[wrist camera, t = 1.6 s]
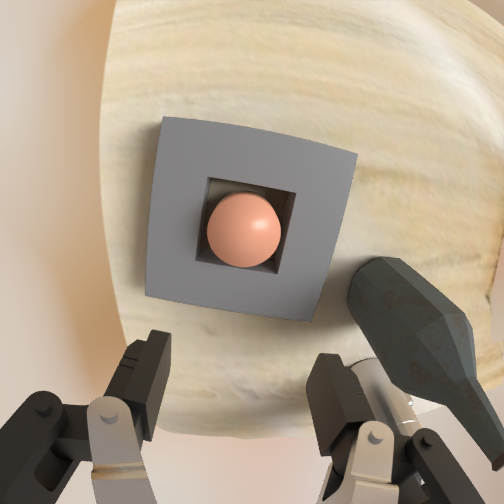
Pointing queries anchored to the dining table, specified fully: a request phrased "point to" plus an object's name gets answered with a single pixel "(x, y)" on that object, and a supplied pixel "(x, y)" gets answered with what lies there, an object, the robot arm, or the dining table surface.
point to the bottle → (425, 346)
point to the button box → (253, 172)
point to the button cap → (243, 229)
